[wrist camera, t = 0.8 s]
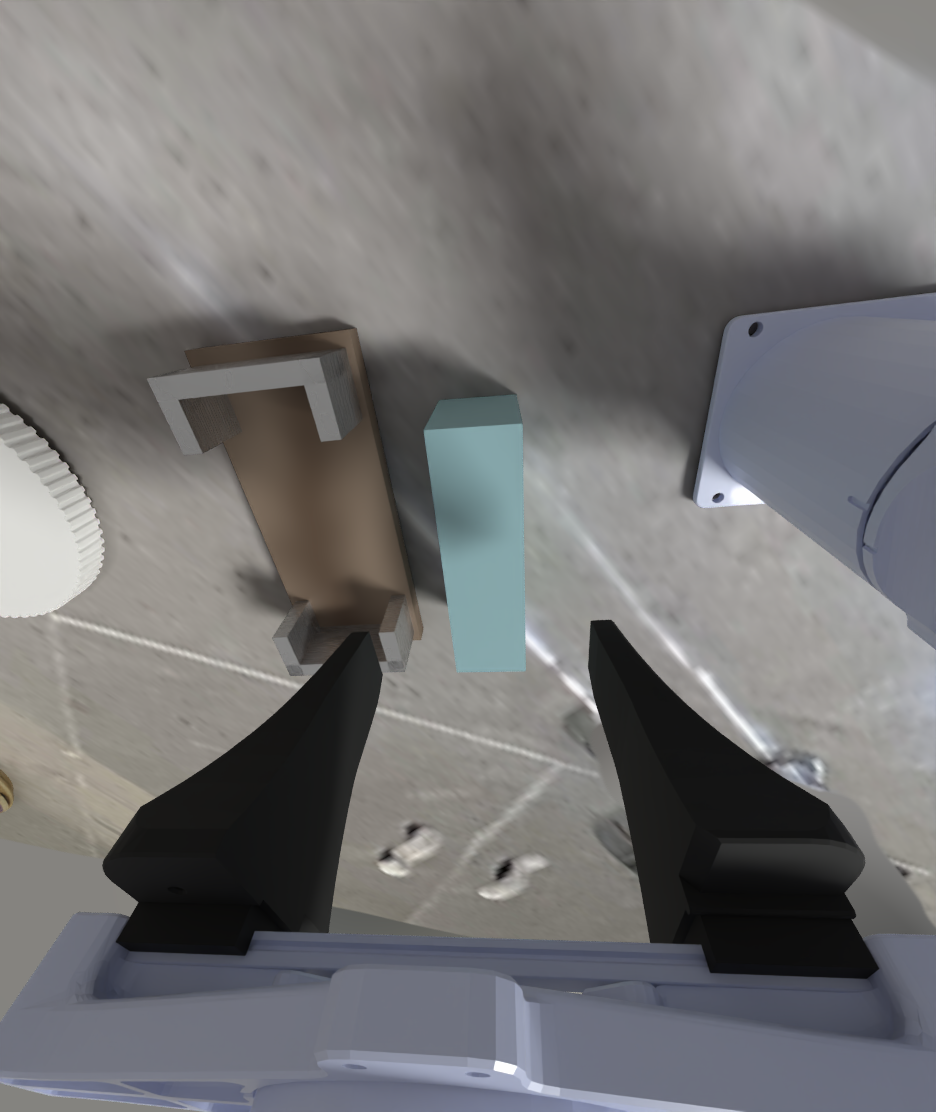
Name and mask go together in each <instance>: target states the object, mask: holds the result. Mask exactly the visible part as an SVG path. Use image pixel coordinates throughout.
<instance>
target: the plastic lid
mask: <svg viewBox="0 0 936 1112" xmlns="http://www.w3.org/2000/svg"><path fill="white" fill-rule="evenodd" d="M68 468H69V466H68V465H67V463H66V462H62V461H61V460H60V459H59V454H58V453H57V452H56V450H51V449H50V447H49V446H48V442H47V441H46V440H45V439H44V438H40V437H39V436H38V435H37V434H36V430H35V429H34V428H33V427H31V426H30V427H28V426H27V425H26V424H24V423H23V419H22V418H21V417H20V416H19V415H13V414H12V413H11V412H10V411H9V408H8V407H7V406H6V405H4V404H0V616H2V617H5V618H7V617H8V616H11V617H12V618H17V617H19V616H21V617H23V618H27V617H28V616H29V615H30V616H32V617H35V616H37V615H38V614H40V615H44V614H45V613H47V612H48V613H50V612H52V611H53V610H55V609H56V610H57V609H58V608H60V607H61V606H63V605H64V604H66V603H67V602H69V601H70V600H71V599H73V598H74V597H75V596H77V595H78V594H80V593H81V592H82V591H84V590H85V589H86V588H87V587H88V586H90V585H91V584H92V582H93V581H94V580H95V579H96V578H97V577H96V575H98V574H99V573H100V570H98V569H99V568H101V567H102V565H103V564H102V563H101V562H100V561H102V560H103V559H104V556H103V555H102V554H101V553H103V552H104V550H105V548H104V547H102V546H101V544H103V543H104V539H103V538H101V536H100V535H101V534H102V533H103V532H102V529H100V528H99V527H98V524H100V521H99V519H98V518H96V517H95V515H94V514H95V513H96V510H95V508H92V507H91V505H90V503H91V500H90V498H89V497H87V496H85V494H84V491H85V489H84V487H83V486H81V485H79V484H78V482H77V481H76V480H78V478H77V477H76V475H75V474H72V473H71V472H70V471H69V470H68Z"/></svg>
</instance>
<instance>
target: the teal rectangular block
mask: <svg viewBox="0 0 936 1112" xmlns="http://www.w3.org/2000/svg"><path fill="white" fill-rule="evenodd" d="M424 437H425V445H426V452H427V459H428V466H429V474H430V481H431V488H432V495H433V503H434V510H435V517H436V524H437V532H438V539H439V546H440V553H441V561H442V568H443V575H444V582H445V589H446V597H447V604H448V611H449V618H450V626H451V633H452V640H453V647H454V655H455V662H456V669H457V672H506V671H526V657H525V580H524V503H523V425H522V419H521V414H520V409H519V405H518V400H517V395H516V394H513V395H500V396H487V397H473V398H460V399H447V400H439V402H438V403H437V405H436V407H435V409H434V411H433V413H432V415H431V417H430V419H429V421H428V423H427V425H426V427H425V428H424Z"/></svg>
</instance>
